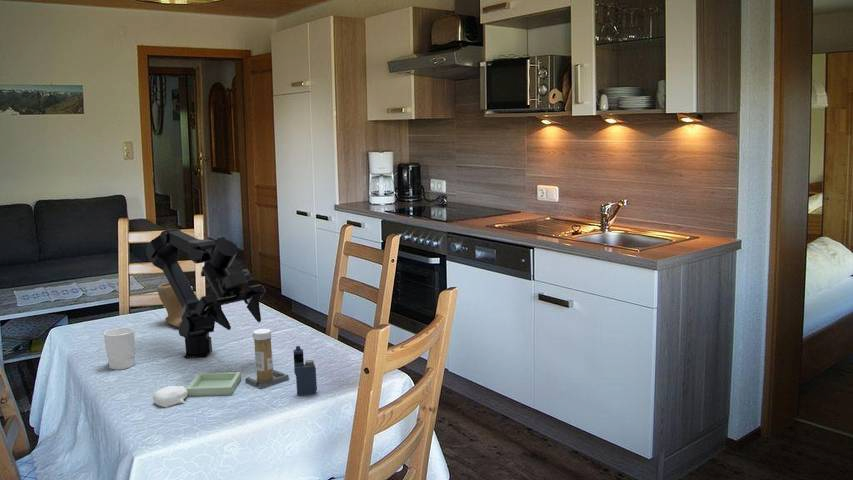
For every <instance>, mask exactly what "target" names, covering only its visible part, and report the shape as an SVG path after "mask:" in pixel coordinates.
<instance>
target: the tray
mask: <svg viewBox="0 0 853 480" xmlns="http://www.w3.org/2000/svg"><path fill="white" fill-rule="evenodd" d="M241 381H242V372H241V371H236V372H235V371H233V372H230V371H228V372H206V373H205V372H201V373H200V372H199V373H198V374H197V375H196V376H195V378H194V379H193V380H192V381H191V382H190V384H189V385H188V386H187V387H185V388H186V390H187V391H188V394H187V396H188V397H211V396H212V397H213V396H232V395H233V394H234V393H235V390H236V389H237V387H238V386H239V384H240V383H241ZM187 396H186V397H187Z"/></svg>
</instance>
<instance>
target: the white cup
mask: <svg viewBox="0 0 853 480" xmlns="http://www.w3.org/2000/svg"><path fill="white" fill-rule="evenodd" d="M103 339H104V344H105V345H104V346H105V351H106V357H107V359H108V368H109V369H111V370H119V369H120V370H126V369H130V368H131V367H134V366H135V364H136V356H135V355H136V346H135V345H136V342H135V340H136V339H135V329H134V328H132V327H116V328H111V329H108V330H106V331H104V332H103Z"/></svg>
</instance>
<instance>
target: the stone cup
mask: <svg viewBox="0 0 853 480" xmlns="http://www.w3.org/2000/svg"><path fill="white" fill-rule="evenodd" d="M156 291H157V293H158V294H157V295H158V297H159V300H160V301H161V303H162V304H163V306H164V308H165V310H166V312H167V316H166V317H165V319H164V320H165V322H166V323H168V324H170V325H171V326H174V327H177V328H179V326H180V324H181V322H182V319H181V316H182V310H183V308H182V306H181V304H180V302H179V300H178V299H177V297H176V295H175V293H174V291H173V289H172V287H171V285H170V283H169V281H168V282H164V283H161V284H159V285H157V290H156Z"/></svg>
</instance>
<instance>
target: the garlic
mask: <svg viewBox="0 0 853 480" xmlns="http://www.w3.org/2000/svg"><path fill="white" fill-rule="evenodd" d="M186 388H187V387H185V386H183V385H180V386H179V385H169V386H165V387H162V388H159V389H158V390H156V391H155V392H154V393H153V395H152V398H153V402H154V403H155V405H157V406H159V407H163V408H168V407H167V406H170V407H172V406H175V405H179V404H186V403H185V402H186V401H185V398H187V394H188V391H187V390H186Z"/></svg>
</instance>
